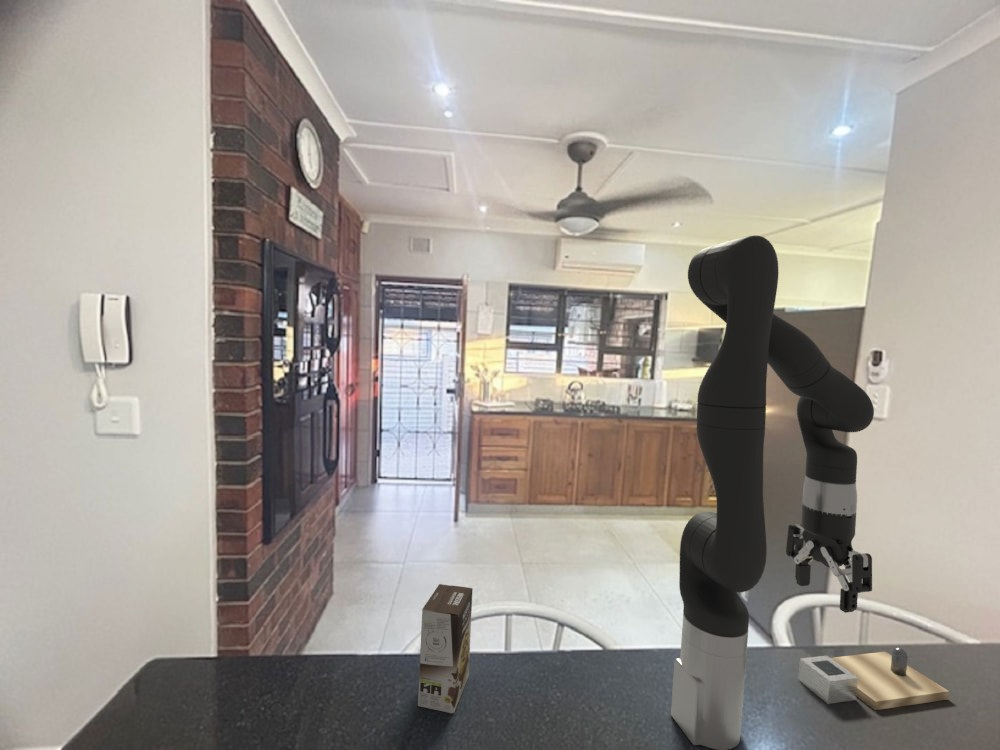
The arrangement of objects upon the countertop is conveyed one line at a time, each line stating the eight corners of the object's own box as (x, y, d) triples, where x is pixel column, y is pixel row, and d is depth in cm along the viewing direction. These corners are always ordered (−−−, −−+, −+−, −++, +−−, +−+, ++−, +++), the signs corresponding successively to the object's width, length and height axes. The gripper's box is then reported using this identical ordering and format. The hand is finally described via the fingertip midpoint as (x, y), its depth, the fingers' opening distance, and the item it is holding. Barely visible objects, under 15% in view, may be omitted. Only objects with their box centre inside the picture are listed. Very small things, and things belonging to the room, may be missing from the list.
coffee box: (455, 715, 73) (459, 615, 73) (416, 707, 75) (420, 609, 74) (470, 676, 82) (474, 587, 82) (435, 669, 84) (439, 581, 83)
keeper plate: (875, 710, 79) (878, 675, 78) (817, 666, 89) (820, 635, 89) (948, 699, 82) (951, 665, 82) (884, 658, 93) (887, 629, 92)
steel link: (827, 704, 80) (829, 681, 79) (798, 679, 85) (799, 658, 85) (856, 700, 81) (858, 677, 81) (825, 676, 87) (826, 655, 86)
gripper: (776, 493, 85) (773, 579, 86) (849, 521, 72) (844, 623, 72) (811, 491, 87) (807, 575, 88) (889, 518, 73) (883, 618, 74)
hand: (824, 597), depth 80 cm, fingers open, 8 cm apart
